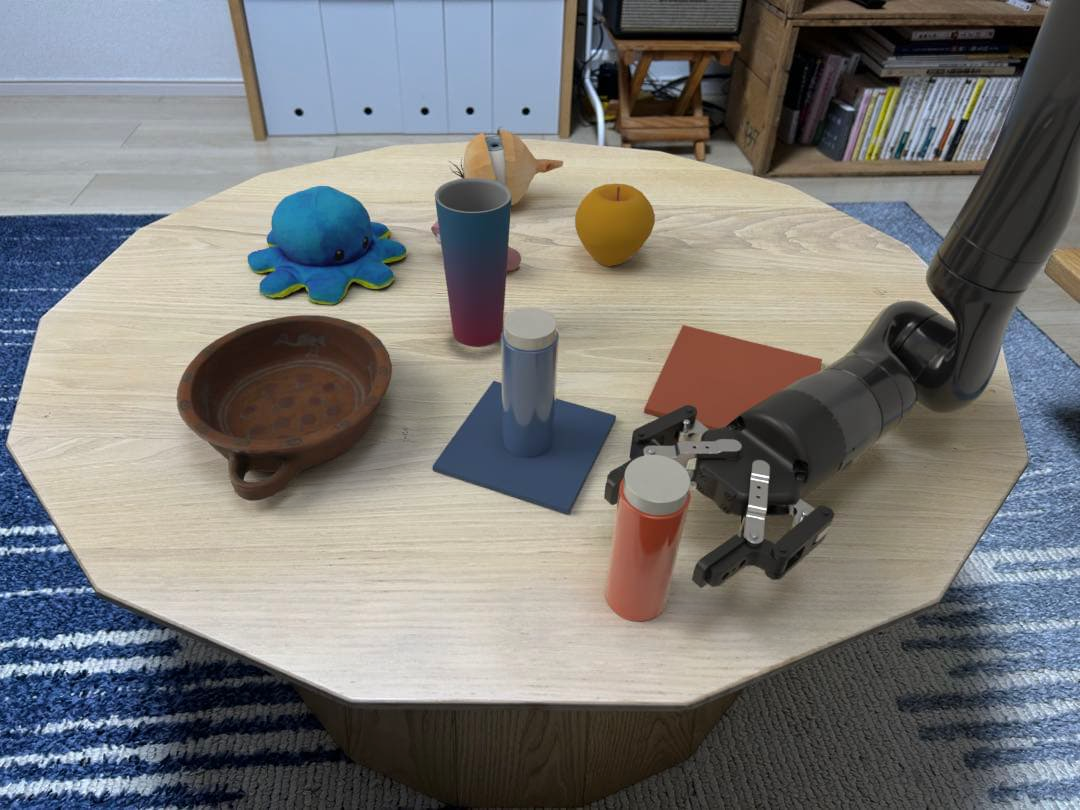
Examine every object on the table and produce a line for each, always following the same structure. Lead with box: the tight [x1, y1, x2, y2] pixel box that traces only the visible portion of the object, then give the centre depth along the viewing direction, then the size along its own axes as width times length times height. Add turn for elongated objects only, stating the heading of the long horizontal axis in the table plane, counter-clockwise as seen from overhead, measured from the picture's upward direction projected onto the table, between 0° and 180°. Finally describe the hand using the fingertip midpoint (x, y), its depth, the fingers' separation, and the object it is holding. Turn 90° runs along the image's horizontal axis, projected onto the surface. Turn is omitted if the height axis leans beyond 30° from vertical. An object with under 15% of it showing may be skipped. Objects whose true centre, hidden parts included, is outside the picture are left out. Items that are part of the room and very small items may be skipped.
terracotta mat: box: [643, 324, 823, 430], centre depth 72 cm, size 14×14×1 cm
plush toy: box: [247, 185, 408, 306], centre depth 84 cm, size 17×17×8 cm
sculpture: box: [448, 125, 565, 207], centre depth 96 cm, size 9×9×15 cm
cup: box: [434, 178, 512, 347], centre depth 73 cm, size 7×7×15 cm
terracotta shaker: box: [604, 455, 692, 622], centre depth 51 cm, size 4×4×12 cm
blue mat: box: [432, 380, 617, 515], centre depth 66 cm, size 12×12×1 cm
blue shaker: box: [500, 307, 560, 458], centre depth 61 cm, size 4×4×12 cm
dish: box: [176, 314, 393, 502], centre depth 66 cm, size 17×22×5 cm
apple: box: [574, 183, 656, 267], centre depth 86 cm, size 9×9×9 cm
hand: (650, 533), depth 51 cm, fingers open, 8 cm apart
